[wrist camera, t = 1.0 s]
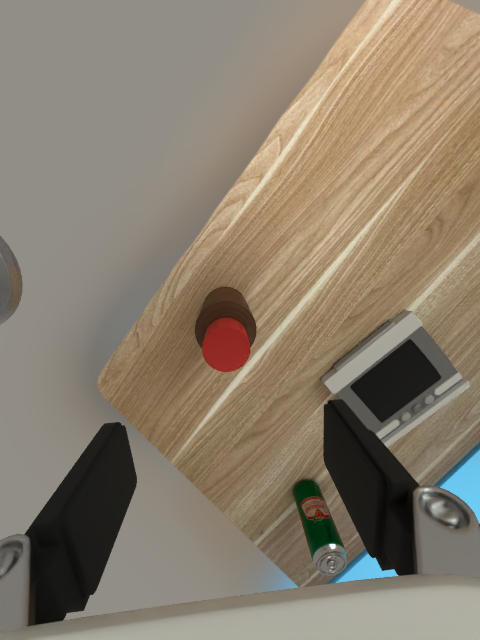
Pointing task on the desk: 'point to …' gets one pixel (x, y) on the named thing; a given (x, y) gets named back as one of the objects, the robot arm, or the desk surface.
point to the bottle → (225, 312)
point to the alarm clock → (395, 378)
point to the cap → (226, 345)
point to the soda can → (319, 529)
